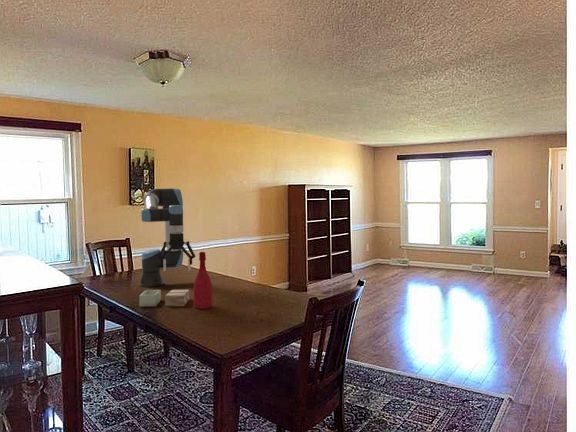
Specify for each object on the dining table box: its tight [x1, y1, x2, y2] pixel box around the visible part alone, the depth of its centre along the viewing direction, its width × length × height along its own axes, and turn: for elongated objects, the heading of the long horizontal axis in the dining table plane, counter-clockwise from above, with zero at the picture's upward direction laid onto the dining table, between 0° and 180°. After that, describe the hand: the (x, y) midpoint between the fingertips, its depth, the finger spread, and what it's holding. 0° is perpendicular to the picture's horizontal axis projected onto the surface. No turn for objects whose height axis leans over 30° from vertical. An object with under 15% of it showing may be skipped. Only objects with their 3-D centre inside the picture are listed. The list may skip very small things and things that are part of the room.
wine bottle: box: [193, 251, 213, 310], centre depth 229 cm, size 10×10×30 cm
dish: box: [138, 289, 162, 307], centre depth 238 cm, size 13×8×6 cm, turn 4°
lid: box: [164, 289, 191, 307], centre depth 240 cm, size 15×10×6 cm, turn 1°
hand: (177, 270), depth 239 cm, fingers open, 13 cm apart
